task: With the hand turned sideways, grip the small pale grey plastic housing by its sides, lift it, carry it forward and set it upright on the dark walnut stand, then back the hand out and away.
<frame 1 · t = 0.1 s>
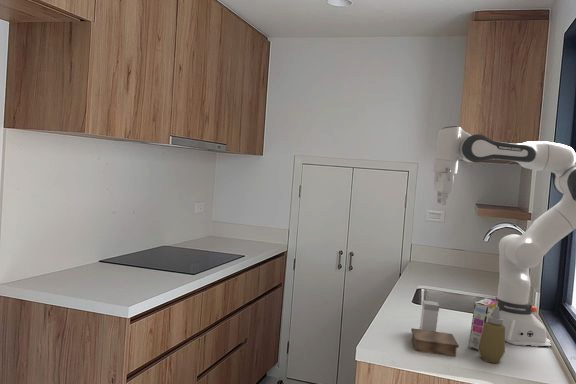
hand: (441, 204, 202), 48 cm above the worktop, tool pointing down, fingers open, 8 cm apart
squeeze bottle: (490, 360, 174), on the worktop
housing: (427, 334, 194), on the worktop
stand: (432, 347, 180), on the worktop
candy bar box: (480, 347, 187), on the worktop
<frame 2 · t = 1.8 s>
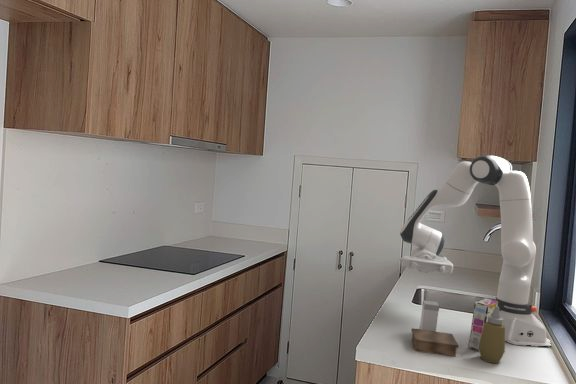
hand: (429, 268, 204), 22 cm above the worktop, tool horizontal, fingers open, 8 cm apart
nothing on the worktop moved.
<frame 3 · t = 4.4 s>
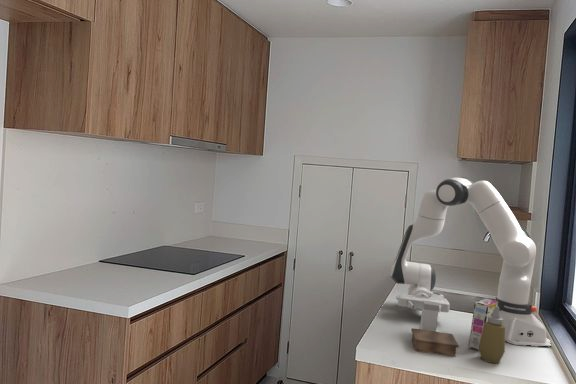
hand: (425, 308, 204), 7 cm above the worktop, tool horizontal, fingers open, 8 cm apart
nothing on the worktop moved.
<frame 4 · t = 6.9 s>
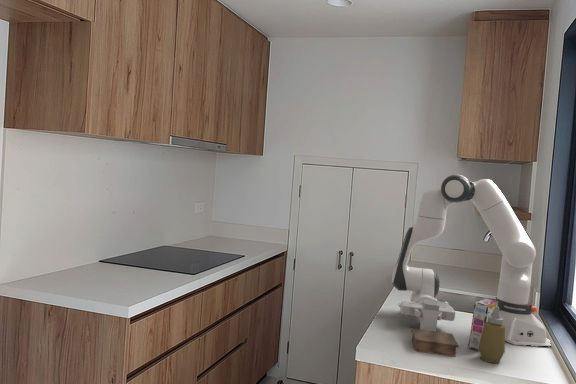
hand: (429, 316, 192), 7 cm above the worktop, tool horizontal, fingers closed on housing, 5 cm apart
housing: (427, 334, 194), on the worktop, touching gripper
everything else where it was.
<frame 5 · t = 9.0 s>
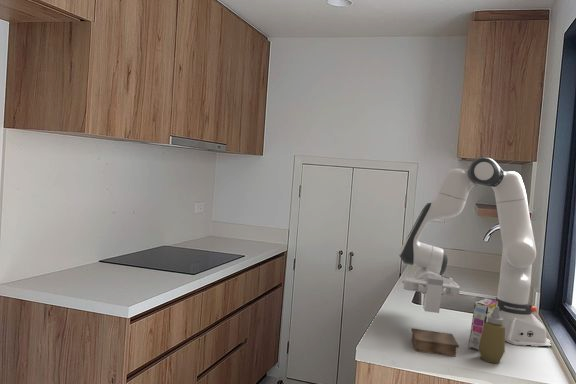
hand: (433, 291, 189), 17 cm above the worktop, tool horizontal, fingers closed on housing, 5 cm apart
housing: (430, 310, 191), point 10 cm above the worktop, touching gripper
everything else where it was.
when the fingers open (12 cm above the worktop, at t = 11.3 s): housing drops 1 cm, resting on stand.
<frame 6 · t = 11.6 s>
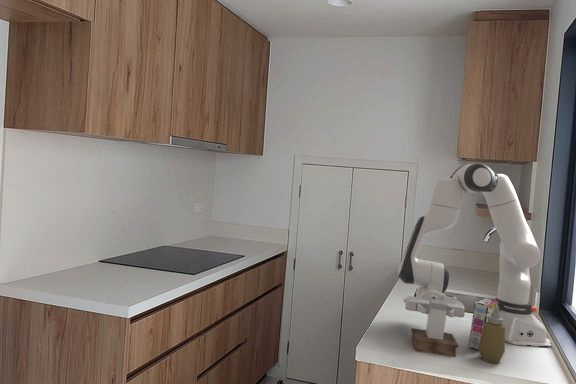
hand: (437, 312, 178), 12 cm above the worktop, tool horizontal, fingers open, 8 cm apart
housing: (434, 336, 179), point 4 cm above the worktop, touching stand
everything else where it was.
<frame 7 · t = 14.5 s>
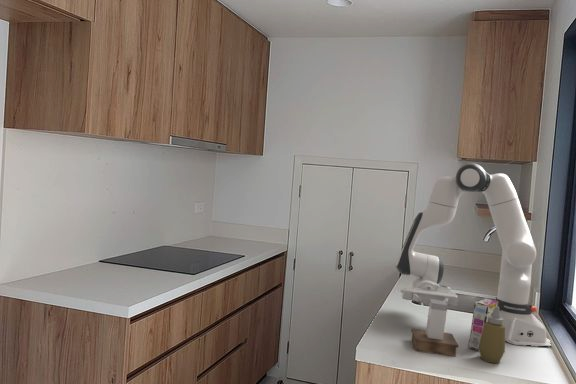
hand: (432, 301, 191), 13 cm above the worktop, tool horizontal, fingers open, 8 cm apart
nothing on the worktop moved.
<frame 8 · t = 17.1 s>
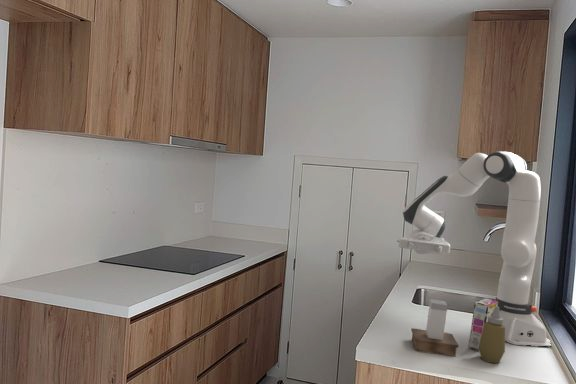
hand: (426, 248, 205), 30 cm above the worktop, tool horizontal, fingers open, 8 cm apart
nothing on the worktop moved.
at the end: housing inside the target area on the stand (0.0 cm from its centre), point 4.0 cm above the stand's base; housing tilted 0°; the gripper is holding nothing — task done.
